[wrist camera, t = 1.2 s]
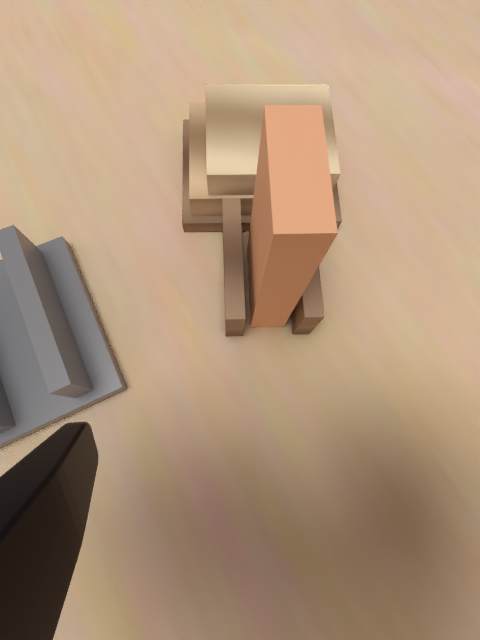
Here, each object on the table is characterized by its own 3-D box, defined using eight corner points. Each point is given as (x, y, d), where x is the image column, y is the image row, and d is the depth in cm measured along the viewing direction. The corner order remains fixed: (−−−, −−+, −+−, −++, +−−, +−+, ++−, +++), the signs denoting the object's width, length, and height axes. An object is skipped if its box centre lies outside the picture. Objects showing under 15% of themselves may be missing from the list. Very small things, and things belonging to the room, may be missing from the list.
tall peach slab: (283, 326, 22) (337, 233, 11) (250, 327, 22) (273, 234, 11) (278, 251, 23) (321, 105, 13) (247, 251, 23) (264, 104, 12)
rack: (350, 332, 22) (381, 308, 17) (183, 337, 21) (172, 314, 17) (324, 130, 26) (344, 70, 21) (184, 131, 25) (176, 69, 21)
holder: (127, 388, 20) (104, 380, 16) (-16, 455, 19) (-77, 463, 15) (69, 244, 23) (37, 207, 19) (-61, 295, 21) (-124, 267, 18)
